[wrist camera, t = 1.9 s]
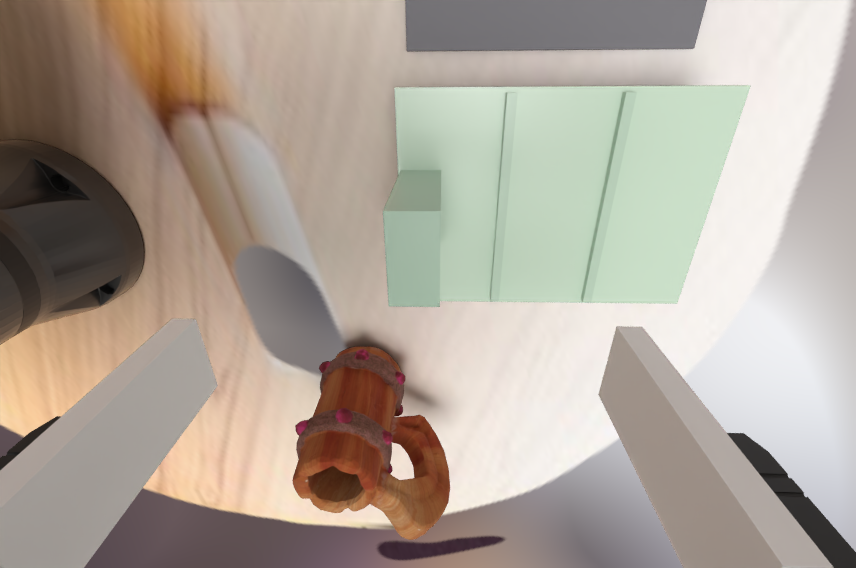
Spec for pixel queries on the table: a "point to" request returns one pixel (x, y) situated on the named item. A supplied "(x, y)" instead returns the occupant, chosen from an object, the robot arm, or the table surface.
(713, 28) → the table surface
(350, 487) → the mug
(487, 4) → the mat
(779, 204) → the table surface
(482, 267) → the lid
